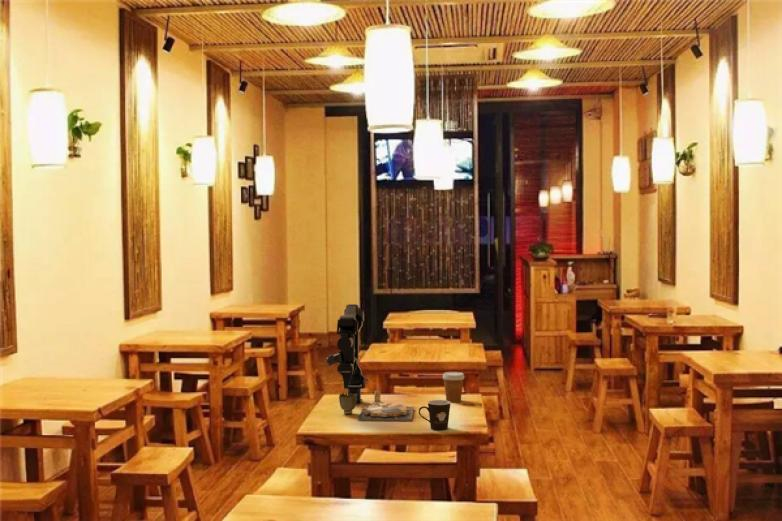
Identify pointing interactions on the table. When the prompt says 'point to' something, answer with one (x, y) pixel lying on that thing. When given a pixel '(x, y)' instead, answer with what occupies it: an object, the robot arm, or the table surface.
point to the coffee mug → (438, 414)
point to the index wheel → (385, 408)
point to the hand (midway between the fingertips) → (347, 385)
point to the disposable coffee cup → (453, 386)
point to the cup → (348, 402)
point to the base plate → (369, 417)
